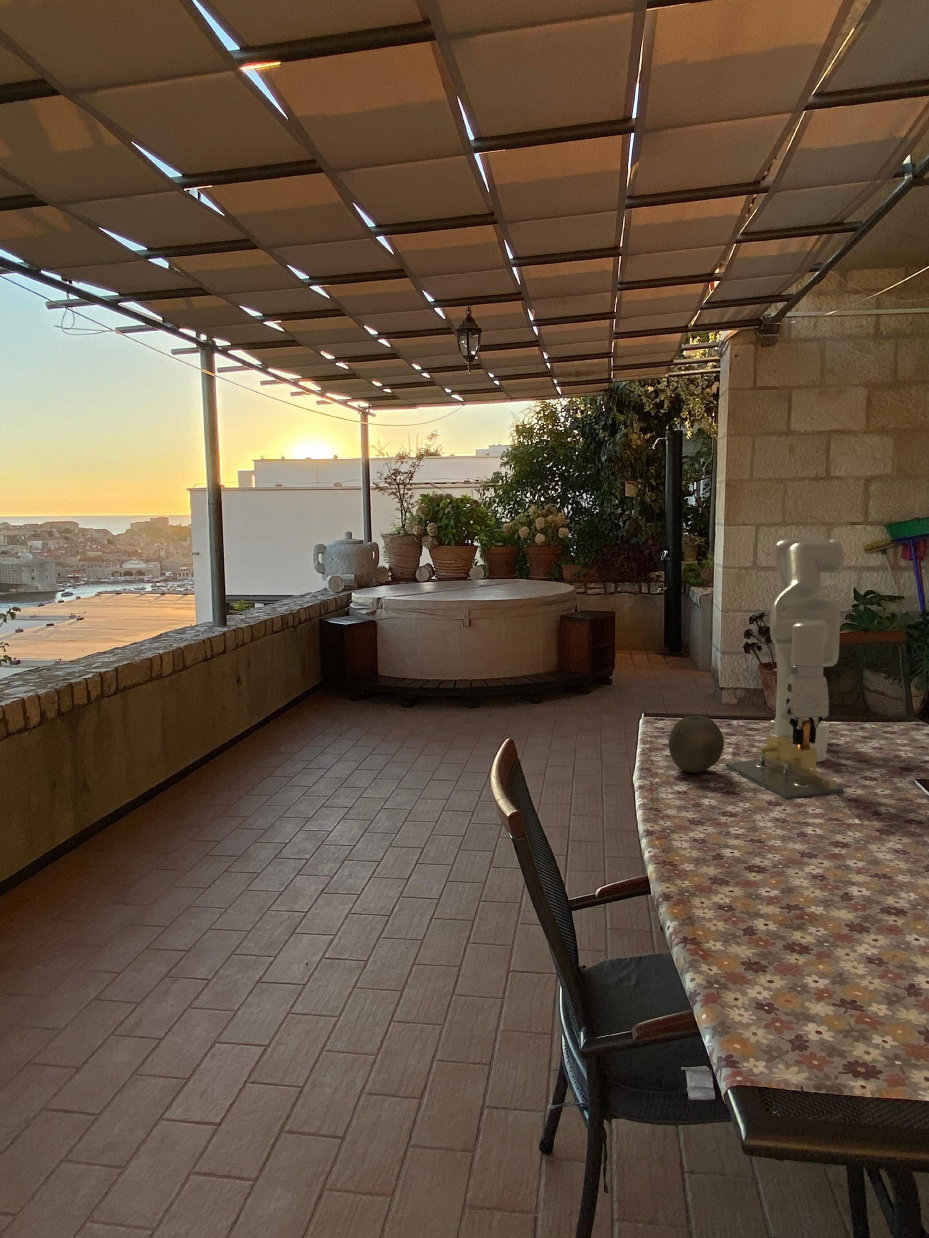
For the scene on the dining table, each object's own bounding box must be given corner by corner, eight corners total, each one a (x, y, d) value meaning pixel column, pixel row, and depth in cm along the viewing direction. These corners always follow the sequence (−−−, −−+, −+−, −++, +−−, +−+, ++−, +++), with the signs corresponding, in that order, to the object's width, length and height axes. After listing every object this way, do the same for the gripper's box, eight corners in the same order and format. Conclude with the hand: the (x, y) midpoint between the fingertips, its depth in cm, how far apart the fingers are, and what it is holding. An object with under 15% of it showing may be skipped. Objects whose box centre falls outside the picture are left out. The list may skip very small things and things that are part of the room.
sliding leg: (777, 772, 212) (779, 720, 211) (804, 770, 214) (806, 717, 213) (788, 778, 208) (790, 724, 206) (815, 775, 210) (818, 721, 208)
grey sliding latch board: (725, 766, 223) (725, 737, 222) (777, 761, 227) (778, 733, 226) (785, 798, 198) (786, 765, 197) (843, 792, 202) (844, 759, 201)
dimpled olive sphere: (661, 776, 216) (662, 719, 214) (675, 761, 228) (676, 708, 226) (717, 784, 209) (719, 725, 207) (728, 768, 221) (729, 713, 220)
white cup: (823, 764, 224) (825, 728, 223) (793, 759, 229) (794, 724, 228) (831, 757, 230) (832, 722, 229) (801, 752, 235) (802, 718, 234)
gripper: (787, 676, 203) (785, 749, 205) (844, 672, 207) (841, 744, 209) (769, 670, 210) (766, 741, 212) (824, 666, 214) (822, 736, 216)
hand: (804, 742), depth 211 cm, fingers closed on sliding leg, 2 cm apart
